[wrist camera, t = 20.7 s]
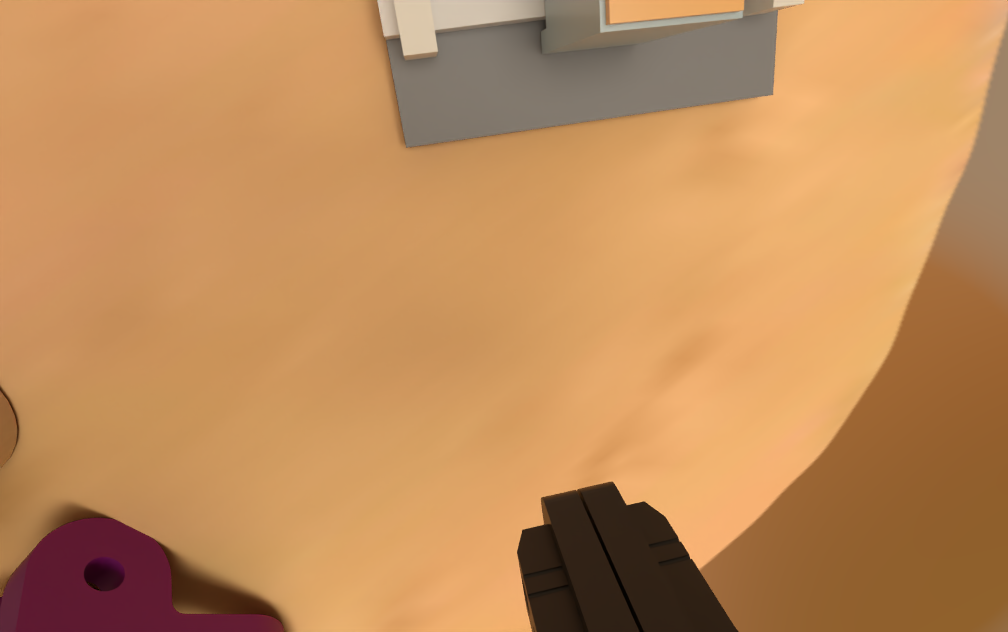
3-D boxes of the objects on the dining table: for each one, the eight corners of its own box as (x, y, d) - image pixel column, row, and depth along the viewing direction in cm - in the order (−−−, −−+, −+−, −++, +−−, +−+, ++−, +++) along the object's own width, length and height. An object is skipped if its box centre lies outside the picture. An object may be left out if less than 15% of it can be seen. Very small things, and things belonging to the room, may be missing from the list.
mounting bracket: (294, 540, 45) (36, 509, 32) (315, 642, 40) (12, 653, 27) (225, 610, 47) (-47, 607, 34) (235, 717, 41) (-88, 763, 28)
